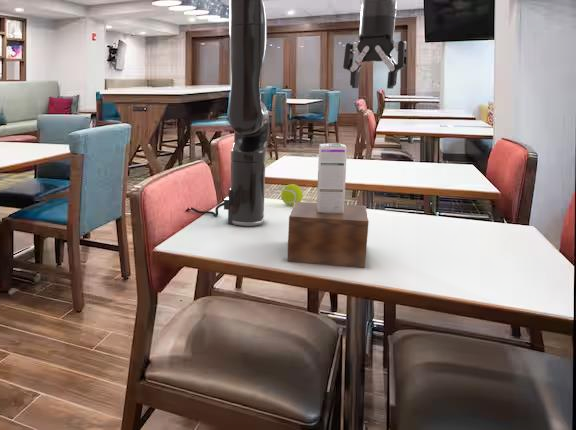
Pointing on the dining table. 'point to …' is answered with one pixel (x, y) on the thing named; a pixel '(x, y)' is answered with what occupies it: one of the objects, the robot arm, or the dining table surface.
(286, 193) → the tennis ball
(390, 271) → the dining table surface
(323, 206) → the syrup box
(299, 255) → the wooden box
